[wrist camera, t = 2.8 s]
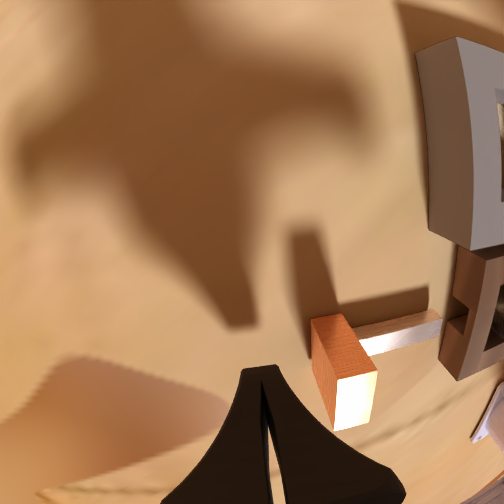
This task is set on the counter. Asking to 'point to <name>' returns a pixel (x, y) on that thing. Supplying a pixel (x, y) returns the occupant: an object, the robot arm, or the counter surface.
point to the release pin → (359, 359)
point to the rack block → (464, 140)
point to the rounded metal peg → (499, 313)
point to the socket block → (474, 313)
